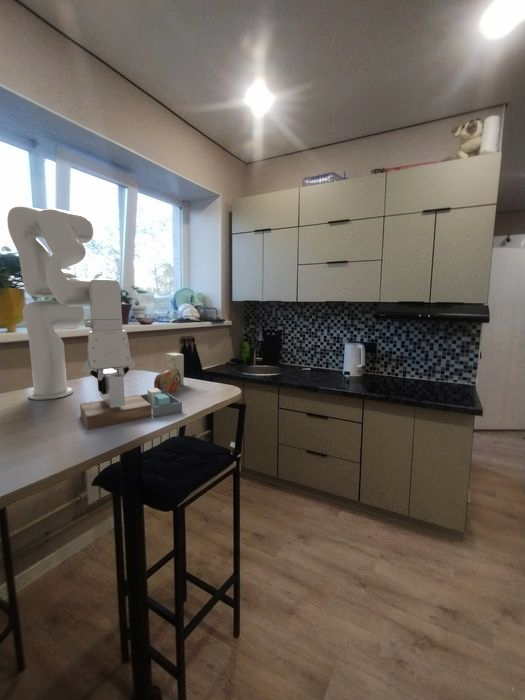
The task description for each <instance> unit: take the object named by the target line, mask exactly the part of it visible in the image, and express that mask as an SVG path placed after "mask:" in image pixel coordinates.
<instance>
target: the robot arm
mask: <svg viewBox="0 0 525 700" xmlns="http://www.w3.org/2000/svg"><path fill="white" fill-rule="evenodd" d="M7 229H8V234H9V236H10V238H11V241H12V242H13V243H12V244H14V247H15V248H16V252H17V254H18V257H19V258H18V260H19V265H20V271H21V278H22V283H23V287H24V290H25V292H26V294H27V295H29V296H31V297H36V298H54V299H55V300H36V301H31V302H29V303H27V304H26V305H24V307H23V309H22V317H23V321H24V324H25V328H26V332H27V337H28V344H29V354H30V363H31V372H32V375H31V376H32V383H33V390H32V391H30V392H29V393H28V398H29V399H31V400H35V401H36V400H37V401H38V400H40V401H41V400H53V399H58V398H64V397H67V396H69V395H71V394H72V393H73V388H72V387H70V386H68V381H67V367H66V366H67V365H66V355H65V343H64V341H63V339H62V338H61V337H60V336H59V334H57V332H56V331H55V330H57V331H58V330H70V329H77V328H80V327H81V326H83V324H84V327H85V328H90V329H91V331H88V337H87V359H86V360H85V362H84V364H83V365H82V367H81V371H82V372H84V373H86V374H89V375H91V376H92V377H94V378H95V379H97V389H98V392H100V391H101V393H102V394H103V395H104V394H106V392H105V380H104V378H103V369H110V368H113V369H115V370H116V371H117V372H118V373H120V374H121V375H123V378H124V377H125V376H126V375H127V374H128V372H129V371H130V370H131V369H133V368H135V367H136V365H137V364H136V363H135V361H134V359H133V358H132V356H131V350H130V342H129V338H128V333H127V330H124V329H123V314H122V313H123V312H122V299H121V298H122V297H121V285H120V282H119V280H117V279H112V278H82V277H81V278H80V277H79V278H78V277H77V275H76V273H74V272H73V271H71V270H68V269H65V268H68V267H71V266H74V265H77V264H79V263H80V262H81V261H82V260H84V258H85V256H86V254H87V253H86V248H85V246H84V244H87V243H89V242H91V240H92V239H93V236H94V227H93V225H92V223H91V221H90V219H89V218H88V217H87V216H85V215H83V214H80V213H76V212H71V211H67V210H63V209H59V208H45V209H40V208H35V207H30V206H15V207H12V208H10V210H9V211H8V213H7ZM38 238H42V239H44V240H45V241H46V244H47V247H48V248H49V250H48V249H47V248H46V247H45V245H44V244H43V243H42V242H41V241H40V240H39V239H38ZM49 251H50V252H51V254H50V252H49ZM84 307H89V310H90V320H89V321H85V309H84ZM95 370H96V371H95Z"/></svg>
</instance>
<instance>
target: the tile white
mask: <svg viewBox="0 0 525 700" xmlns="http://www.w3.org/2000/svg"><path fill="white" fill-rule="evenodd" d="M146 389H147V388H146ZM146 394H147V395H148V403H149V404H151V406H152V407H154V406H155V400H154V395H158V394H161V390H159V389H158V388H153V387H152V388H148V389H147V393H146Z"/></svg>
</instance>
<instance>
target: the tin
mask: <svg viewBox="0 0 525 700" xmlns="http://www.w3.org/2000/svg"><path fill="white" fill-rule="evenodd" d="M180 384H181V376H180V372H179V371H178V370H177V369H169V370H166V369H165V371H162V372H160V373H158V374H157V375H156V376H155V378H154V382H153V385H154V386H153V387H154V388H158V389H159V390H161V392H163V391H165V392H167V393H169V394H170V395H172V396H173V393H174V394H175V393H177V392H178V391H179V390H180V386H181V385H180ZM176 391H177V392H176Z"/></svg>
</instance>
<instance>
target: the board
mask: <svg viewBox="0 0 525 700" xmlns="http://www.w3.org/2000/svg"><path fill="white" fill-rule="evenodd" d="M140 395H141V394H135V395H134V394H133V395H128V396H124V397H125V406H120V407H114V408H110V407H109V406H108V404H107V403H106V402H105V401H104V400H103V399H102V400H96V401H90V402H84V403H82V402H81V403H79V407H80V408H79V409H80V411H79V412H80V417H81V419H82V421H83V422H84V424H85V426H86V429H87V430H88V431H89V430H95V429H98V428H104V427H108V426H112V425H118V424H123V423H128V422H133V421H138V420H142V419H143V420H144V419H148V418H153V417H152V414H151V404H149V403H148V402H147V401H146V400H144V399H143V398H142V397H141V396H140Z"/></svg>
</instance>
